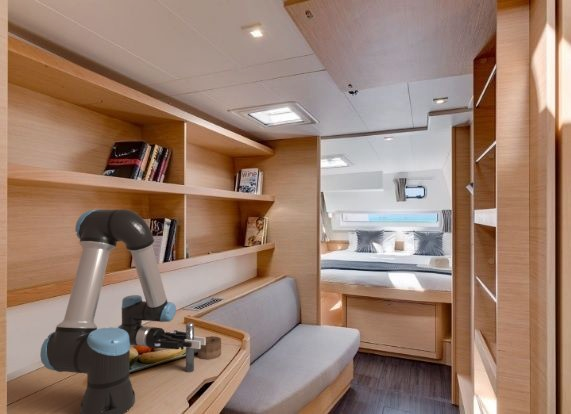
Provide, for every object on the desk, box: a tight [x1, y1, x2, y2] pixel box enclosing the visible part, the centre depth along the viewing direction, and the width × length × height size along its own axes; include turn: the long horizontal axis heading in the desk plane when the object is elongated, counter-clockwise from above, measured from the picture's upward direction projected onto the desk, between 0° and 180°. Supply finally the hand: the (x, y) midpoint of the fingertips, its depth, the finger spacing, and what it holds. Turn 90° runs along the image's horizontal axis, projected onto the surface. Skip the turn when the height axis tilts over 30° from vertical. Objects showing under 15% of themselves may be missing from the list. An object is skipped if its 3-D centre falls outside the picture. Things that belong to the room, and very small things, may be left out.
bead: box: [197, 335, 222, 361], centre depth 139 cm, size 10×10×6 cm
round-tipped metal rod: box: [185, 321, 195, 373], centre depth 125 cm, size 3×3×18 cm
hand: (202, 343), depth 124 cm, fingers closed on round-tipped metal rod, 3 cm apart
